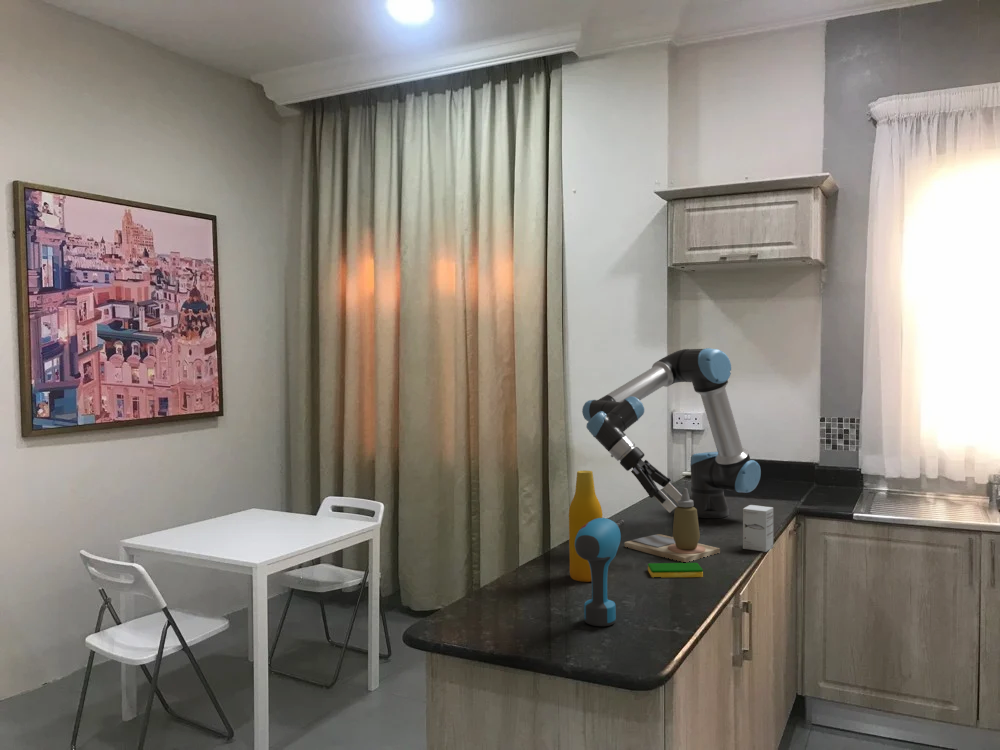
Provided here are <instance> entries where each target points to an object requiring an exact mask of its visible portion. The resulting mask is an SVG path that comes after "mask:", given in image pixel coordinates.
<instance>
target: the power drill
mask: <svg viewBox="0 0 1000 750" xmlns="http://www.w3.org/2000/svg"><path fill="white" fill-rule="evenodd" d="M624 525H625V521H624V520H623V519H622V518H620V519H619V520H617V521H616V522H615V521H614V520H611V519H610V518H605V517H602V518H597V519H594V520H592V521H590V522H588V523H587V524H585V525H584V526H583V527H581V529H580V530H579V531H578V533H577V535H576V539H575V549H576V552H577V554H578V555H579V556H580V557H581V558H583V559H585V560H588V562H589V565H590V569H591V578H592V582H591V599H587V600H586V601H585V602H584V604H583V606H584V607H583V610H584V611H583V612H584V614H583V618H584V622H585V623H586V624H588V625H590V626H593V627H610V626H612V625H614V624H615V623H616V620H617V618H616V617H617V615H616V614H617V613H616V608H617V607H616V603H615V601H614V600H611V599H608V572H609V571H608V570H609V567H610V564H611V562H612V561H613V560H614V559H615V558H616V555H617V553H618V549H619V546H620V544H621V538H622V536H621V535H622V534H621V530H620V528H621V527H623V526H624Z"/></svg>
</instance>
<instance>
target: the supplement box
mask: <svg viewBox="0 0 1000 750" xmlns="http://www.w3.org/2000/svg"><path fill="white" fill-rule="evenodd" d="M774 509H775V508H774V507H772V506H763V505H757V504H756V505H755V504H749V505H747V506H745V507H744V508H742V549H744V550H751V551H757V552H763V553H767V552H768V551H770V550H771V549H772V548H774Z"/></svg>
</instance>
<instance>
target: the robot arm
mask: <svg viewBox="0 0 1000 750" xmlns="http://www.w3.org/2000/svg"><path fill="white" fill-rule="evenodd" d="M731 371H732V363H731V361H730V358H729V357H728V355H727V354H726V353H725V352H724V351H722V350H721V349H719V348H718V349H717V348H710V347H709V348H707V347H706V348H683V349H679V350H676V351H674V352H672V353H670V354H668V355H665V356H664V357H663V358H662V357H661V359H659V360H657V361H655V362H654V363H653V364H652V366H651V368H649V369H648V370H646V371H645V372H643V373H641V374H639V375H638V376H636V377H634V378H631V380H629V381H628V382H626V383H624V384H623V385H621V386H618V388H616V389H614V390H613V391H610V392H609V393H608V394H606V395H604V396H602V397H601V398H599V399H590V400H587V401H585V403H584V404H583V406H582V411H581V412H582V416H583V418H584V420H586V421H587V423H586V429H587V430H588V431H589V433H590V434H591V435H592V436H593V438H594V439H595V440H597V442H599V444H601V445H602V447H603V448H604V449H606V450H607V452H609V454H610V457H611V458H614V459H615V460H616V461H618V462H619V464H620V466H622V467H623V469H625V470H626V471H627V472H628V471H630V470H631V471H630V473H631V474H632V475H633V476H634V477H635V478H636V479H637V481H638V482H639V484H640V485H641V486H642V488H643V489H644V490H645V492H646V494H647V495H649V498H650V499H653V497H654V498H655V499H656V501H657V502H658V503H659V504H660V505H661V506H662V507H663V508H664V509H665V510H666V511H667V512H668V513H669V514H670V513H671V512H672V511H674V510H675V508H676V507H678V500H680V499H681V497H682V494H681V492H679V490H678V489H677V488H676V487H674V486H673V484H672V483H671V481H672V480H671V479H670V478H669V477H668V476H666V475H665V474H664V473H662V472H661V471H659V470H658V468H656V467H655V466H654V465H652V464H651V463H650V462H649V461H648V460H647V459H644V460H643V458H644V457H645V453H644V452H643V450H642V449H640V448H639V447H638V446H636V444H635V442H634V441H633V440H632V439H631V438H630V437H629V436H628V435H626V433H625V431H626V430H628V429H629V428H630V427H632V425H634V424H635V423H636V422H638V421H639V420H640V418H642V416H644V413H645V407H644V404H643V402H642V401H641V400H643V399H645V398H646V397H648V396H651V394H653V393H654V392H656V391H658V390H660V389H661V388H663V387H665V388H667V387H670V386H672V385H674V384H676V383H692V386H693V389H694V392H696V393H697V394H698V395H700V397H701V401H702V404H703V407H704V411H705V415H706V418H707V421H708V424H709V429H710V431H711V435H712V439H713V442H714V445H715V448H716V451H707V452H697V453H694V454H692V456H691V459H690V484H691V485H690V486H691V489H690V491H691V492H690V495H689V498H690V500H693V503H694V506H693V507H695V508H696V509H697V516H698V518H699V519H700V518H701V519H719V518H721V519H722V518H726V517H729V515H730V514H729V513H730V508H729V507H728V503H727V499H726V497H725V493H724V492H725V491H724V490H727V491H733V492H737V493H744V494H745V493H746V494H747V493H751V492H752V491H754V490H755V489H756V488H757V486H758V485H759V483H760V480H761V474H762V471H761V466H760V463H758V461H756V460H754V459H751V458H750V454H749V451H748V449H746V448H743V445H742V442H741V439H740V434H739V431H738V428H737V427H738V426H737V424H736V421H735V417H734V415H733V410H732V408H731V403H730V399H729V396H728V394H727V389H726V387H727V385H728V383H729V378H730V377H731V374H732V373H731ZM656 484H657V485H659V486H661V487H662V489H663V490H664V491H665V493H667V495H668V496H669V497H670V498H671V499H672V500H674V501H672V500H671V499H670V498H669V497H668V496H667V495H666V494H665V493H664V492H663V491H662V489H661V490H660V489H659V488H658V486H657V485H656ZM674 502H675V503H676V504H677V505H676V504H675V503H674Z"/></svg>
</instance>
